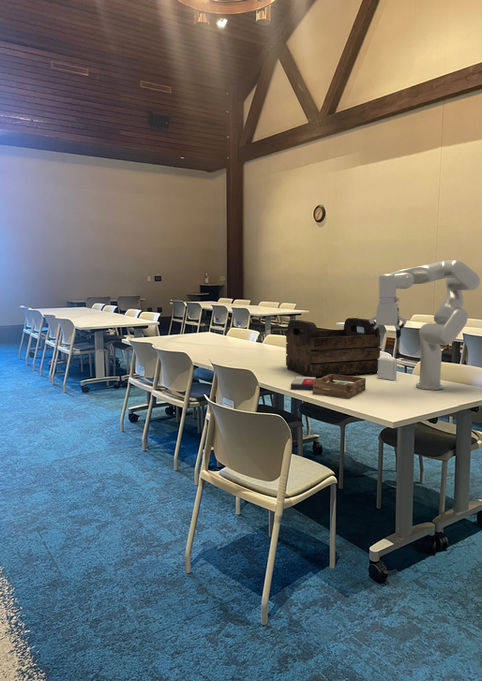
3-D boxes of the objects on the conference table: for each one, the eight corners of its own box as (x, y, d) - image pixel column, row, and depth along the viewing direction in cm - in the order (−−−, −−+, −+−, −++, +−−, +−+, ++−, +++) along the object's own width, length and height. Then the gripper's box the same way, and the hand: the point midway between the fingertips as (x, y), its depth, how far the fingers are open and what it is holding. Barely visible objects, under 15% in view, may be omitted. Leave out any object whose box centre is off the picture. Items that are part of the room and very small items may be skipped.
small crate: (338, 387, 232) (338, 381, 232) (349, 388, 229) (349, 382, 228) (329, 391, 224) (329, 384, 223) (340, 392, 221) (340, 386, 220)
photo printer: (376, 378, 258) (376, 355, 257) (380, 376, 261) (381, 354, 259) (393, 381, 250) (393, 357, 249) (397, 379, 253) (398, 356, 251)
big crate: (330, 385, 240) (330, 374, 239) (365, 390, 230) (365, 378, 229) (312, 393, 223) (312, 381, 223) (349, 398, 213) (349, 385, 212)
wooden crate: (311, 379, 255) (312, 323, 251) (285, 368, 287) (286, 319, 283) (379, 374, 268) (381, 321, 264) (347, 364, 300) (348, 316, 297)
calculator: (290, 382, 232) (295, 375, 246) (290, 391, 233) (295, 383, 247) (313, 384, 229) (316, 376, 243) (313, 392, 230) (316, 384, 244)
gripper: (409, 300, 217) (409, 337, 219) (372, 300, 227) (372, 335, 230) (403, 301, 211) (403, 339, 213) (366, 301, 221) (366, 338, 224)
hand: (387, 337), depth 222 cm, fingers open, 9 cm apart
